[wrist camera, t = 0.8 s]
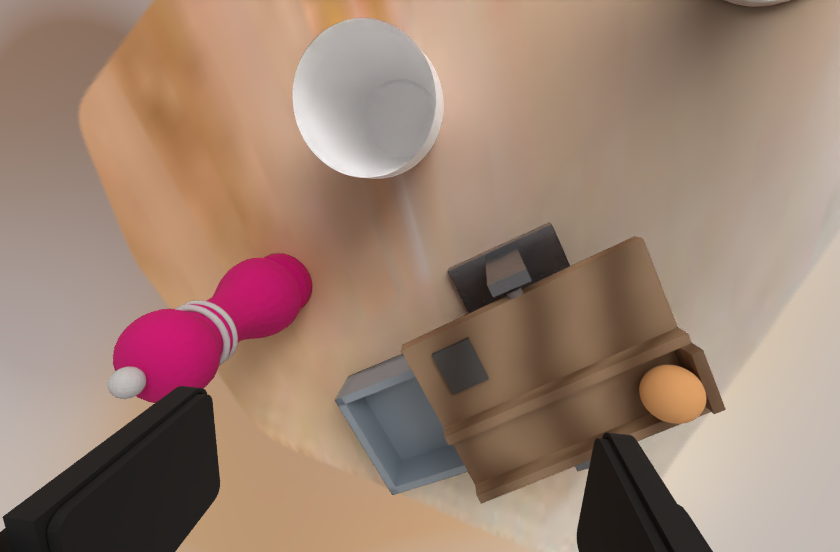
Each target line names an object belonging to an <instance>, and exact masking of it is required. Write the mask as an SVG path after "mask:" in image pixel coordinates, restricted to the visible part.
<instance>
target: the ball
mask: <svg viewBox="0 0 840 552" xmlns="http://www.w3.org/2000/svg"><path fill="white" fill-rule="evenodd" d="M639 393H640V398H641V401H642V403H643V404H644V406H645V407H646V409H647V410H648V411H649V412H650V413H651V414H652V415H654V416H655V417H656V418H658V419H660V420H662V421H665V422H668V423H674V424H682V423H687V422H690V421H692V420H694V419H696V418H697V417H698V416H699V415H700V414H701V413H702V412H703V410H704V408H705V405H706V392H705V389H704V387H703V385H702V383H701V381H700V380H699V379H698V378H697V377H696V376H695V375H694V374H693V373H692V372H690V371H689V370H687V369H685V368H682V367H680V366H676V365H660V366H656V367H654V368H652V369H650V370H649V371H648V372H646V373H645V375H644V376H643V378H642V379H641V382H640V386H639Z"/></svg>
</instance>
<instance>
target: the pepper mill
mask: <svg viewBox="0 0 840 552" xmlns="http://www.w3.org/2000/svg"><path fill="white" fill-rule="evenodd" d="M311 292H312V281H311V278H310V275H309V272H308V271H307V269H306V268H305V267H304V265H303V264H302V263H301V262H299V261H298V260H297V259H295V258H294V257H292V256H289V255H286V254H272V255H269V256H266V257H264V258H252V259H247V260H245V261H242V262H241V263H239V264H237V265H236V266H234V267H233V268H231V269H230V270H229V271H228V272H227V273H226V274H225V276H224V277H223V278H222V279H221V281H220V283H219V285H218V287H217V289H216V291H215V293H214V295H213V297H212V298H210V299H209V300H207V301H200V300H197V301H191V302H188V303H185V304H184V305H182V306H180V307H177V308H176V309H161V310H158V311H153V312H151V313H148V314H145V315H143V316H141V317H140V318H138V319H137V320H135V321H134V322H132V323H131V324H130V325H129V326H128V327H127V328H126V329H125V330H124V331H123V332H122V334H121V335H120V337H119V338H118V341H117V343H116V345H115V347H114V354H113V365H114V368H115V372H114V373H113V374H112V375H111V377H110V378H109V381H108V389H109V392H110V393H111V394H112V395H113V396H115V397H116V398H120V399H127V398H132V397H134V396H137V397H138V398H141V399H143V400H146V401H148V402H153V403H156V402H157V401H159V400H160V399H162V398H163V397H164V396H166V395H167V394H168V393H170V392H171V391H172V390H174V389H175V388H177V387H179V386H188V387H197V388H204V387H205V386H207V385H208V383H209V382H210V381H211V380H212V379H213V378H214V376H215V374H216V372H217V370H218V368H219V366H220V365H221V364H223V363H224V361H226V360H227V359H229V358H230V357H231V356H232V355H233V353H234V352H235V350H236V347H237V343H238V342H239V341H242V340H244V339H255V338H263V337H267V336H270V335H273V334H276V333H278V332H280V331H282V330H283V329H285V328H286V327H288V326H289V325H290V324H291V323H292V322H293V321H294V320H295V318H296V317H297V315H298V313H299V310H300V309H301V308H302V307H303V306H304V305H305V304H306V303H307V302H308V300H309V298H310V296H311Z"/></svg>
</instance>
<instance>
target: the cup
mask: <svg viewBox="0 0 840 552" xmlns="http://www.w3.org/2000/svg"><path fill="white" fill-rule="evenodd" d="M293 108H294V114H295V118H296V122H297V125H298V128H299V130H300V133H301V135H302V137H303V139H304V140H305V142H306V144H307V145H308V146H309V148H310V149H311V150H312V152H313V153H314V154H315V155H316V156H317V157H318V158H319V159H320V160H321V161H322V162H324V163H325V164H326V165H328V166H329V167H331V168H332V169H334V170H336V171H338V172H340V173H343V174H346V175H349V176H354V177H361V178H371V179H383V178H389V177H394V176H397V175H400V174H402V173H404V172H406V171H408V170H409V169H411V168H413V167H414V166H415V165H417V164H418V163H419V162H420V161H421V160H422V159H423V158H424V157H425V156H426V155H427V153H428V152H429V151H430V149H431V148H432V146H433V145H434V143H435V141H436V139H437V136H438V134H439V131H440V127H441V124H442V118H443V95H442V89H441V85H440V81H439V78H438V76H437V73H436V71H435V69H434V67H433V65H432V63H431V62H430V60H429V59H428V57H427V56H426V55H425V54H424V53H423V51H422V50H421V49H420V48H419V47H418V46H417V44H416V43H415V42H414V41H413V40H412V39H411V38H410V37H409V36H408V35H407V34H405V33H404V32H403V31H401V30H400V29H398V28H397V27H395V26H393V25H391V24H389V23H386V22H384V21H380V20H377V19H371V18H354V19H349V20H345V21H342V22H339V23H337V24H335V25H332V26H331V27H329V28H327V29H326V30H325V31H323V32H322V33H321V34H319V35H318V36H317V37H316V38H315V39H314V40H313V41H312V43H311V44H310V45H309V46H308V48H307V49H306V51H305V52H304V54H303V56H302V58H301V60H300V62H299V65H298V67H297V70H296V74H295V78H294V84H293Z"/></svg>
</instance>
